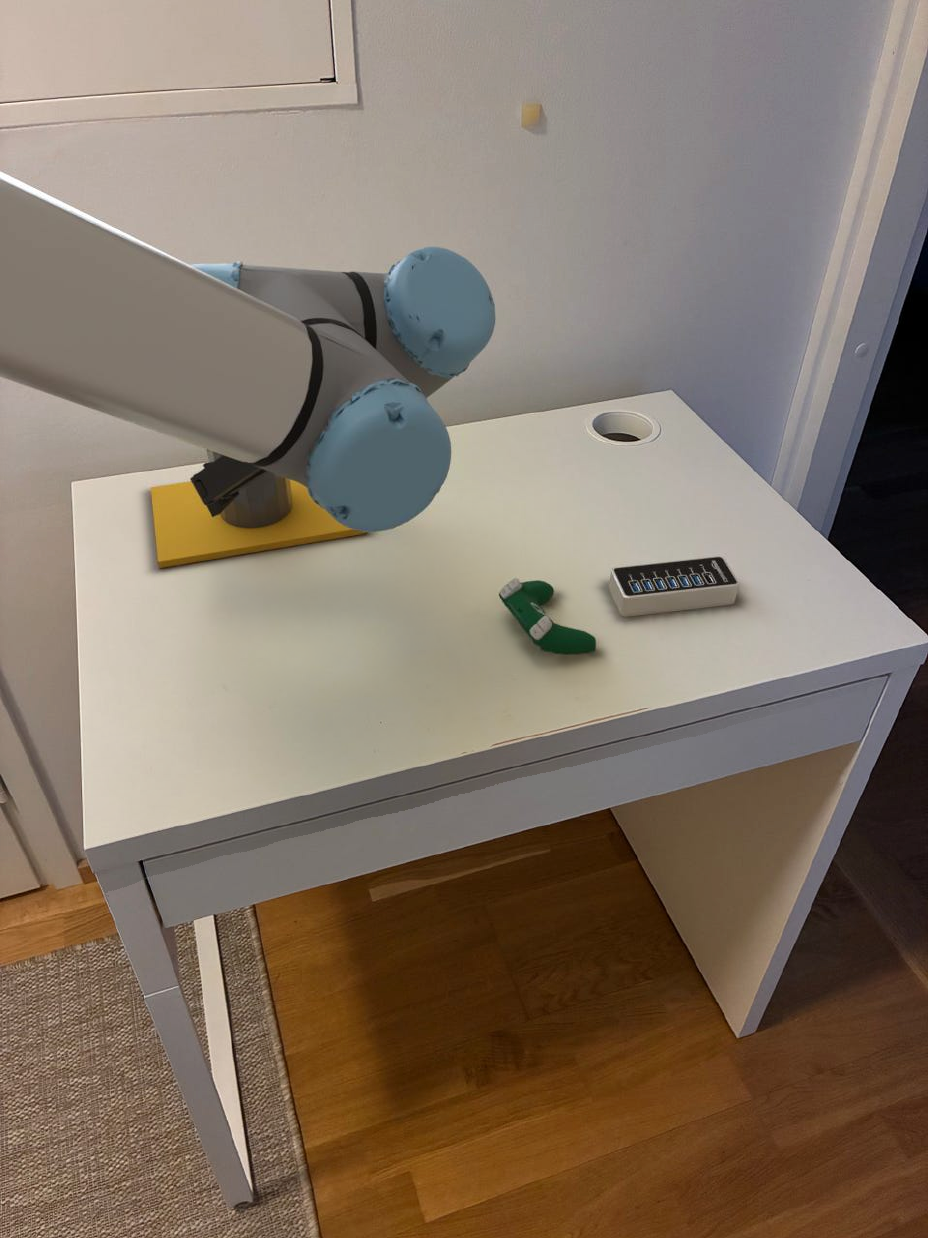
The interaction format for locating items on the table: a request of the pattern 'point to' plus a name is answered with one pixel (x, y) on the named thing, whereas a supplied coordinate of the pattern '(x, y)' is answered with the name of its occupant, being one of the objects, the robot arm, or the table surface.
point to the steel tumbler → (258, 501)
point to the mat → (231, 527)
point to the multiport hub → (673, 586)
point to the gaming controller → (543, 619)
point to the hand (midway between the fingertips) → (271, 475)
